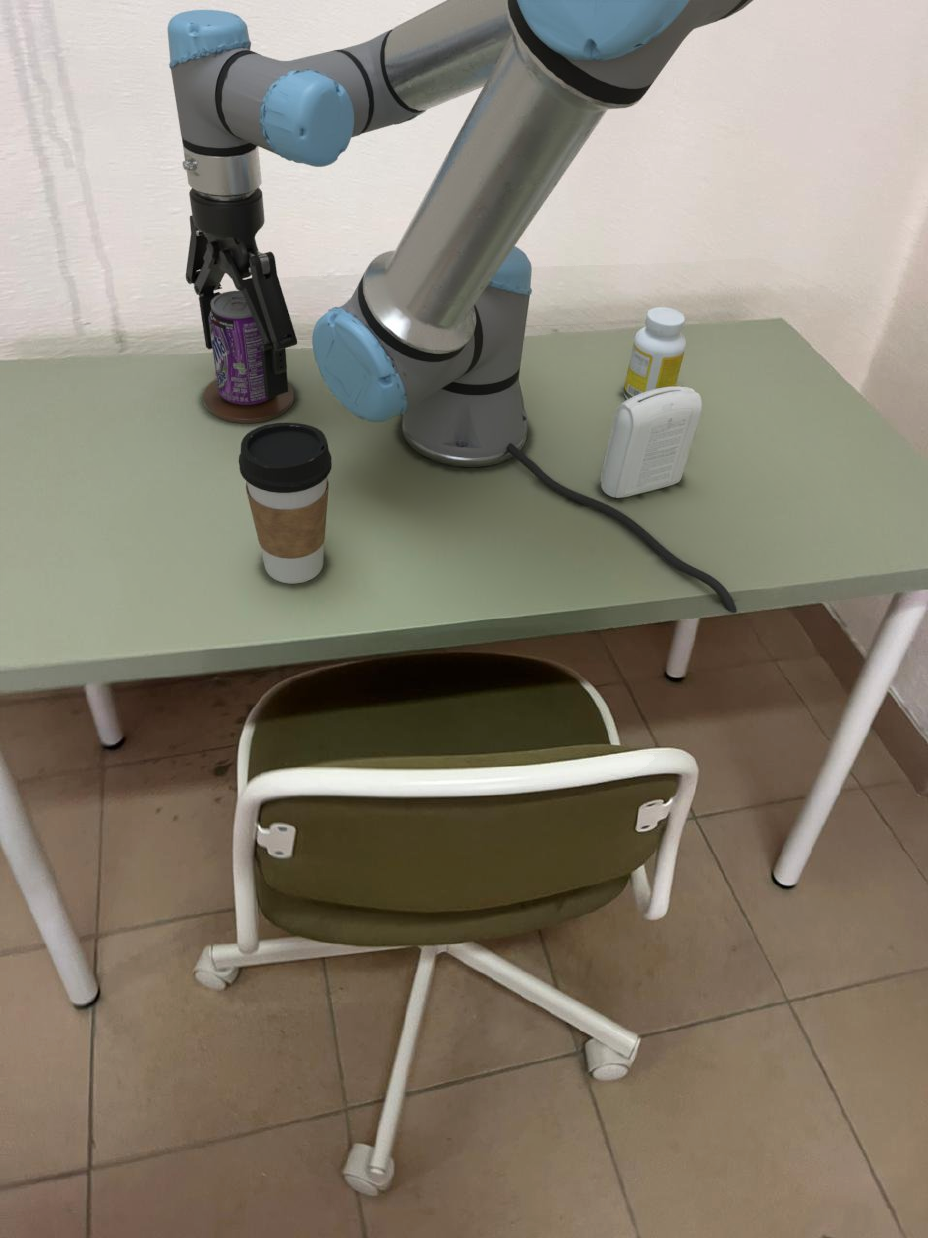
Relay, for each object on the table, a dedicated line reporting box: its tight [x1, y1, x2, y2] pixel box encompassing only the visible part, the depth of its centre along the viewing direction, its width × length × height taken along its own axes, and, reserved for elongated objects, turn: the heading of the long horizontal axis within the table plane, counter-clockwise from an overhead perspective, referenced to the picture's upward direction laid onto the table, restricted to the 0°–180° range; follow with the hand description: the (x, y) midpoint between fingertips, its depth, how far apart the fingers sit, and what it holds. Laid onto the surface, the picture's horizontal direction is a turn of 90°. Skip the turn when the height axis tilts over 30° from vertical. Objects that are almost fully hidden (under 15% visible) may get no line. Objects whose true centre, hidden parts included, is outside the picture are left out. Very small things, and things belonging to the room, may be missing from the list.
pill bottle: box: [623, 306, 687, 400], centre depth 116 cm, size 6×6×12 cm
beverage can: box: [209, 290, 270, 405], centre depth 109 cm, size 7×7×12 cm
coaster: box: [202, 378, 295, 424], centre depth 113 cm, size 11×11×1 cm
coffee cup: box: [238, 422, 333, 585], centre depth 88 cm, size 8×8×15 cm
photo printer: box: [599, 385, 703, 499], centre depth 102 cm, size 10×4×12 cm, turn 117°
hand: (246, 369), depth 111 cm, fingers open, 13 cm apart
